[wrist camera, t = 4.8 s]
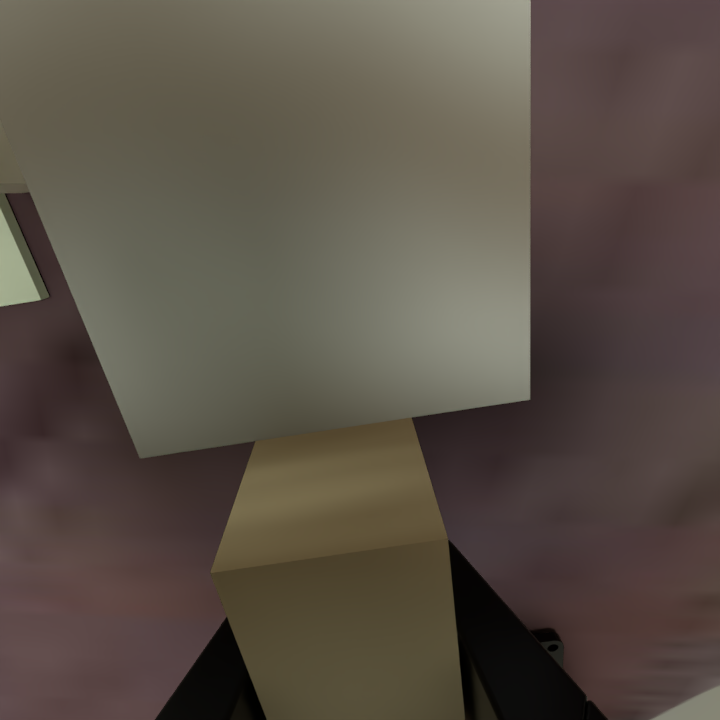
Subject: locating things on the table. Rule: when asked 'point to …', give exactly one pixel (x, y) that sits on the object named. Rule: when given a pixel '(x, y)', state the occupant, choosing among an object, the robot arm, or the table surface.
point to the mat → (16, 263)
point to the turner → (296, 289)
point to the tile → (9, 168)
